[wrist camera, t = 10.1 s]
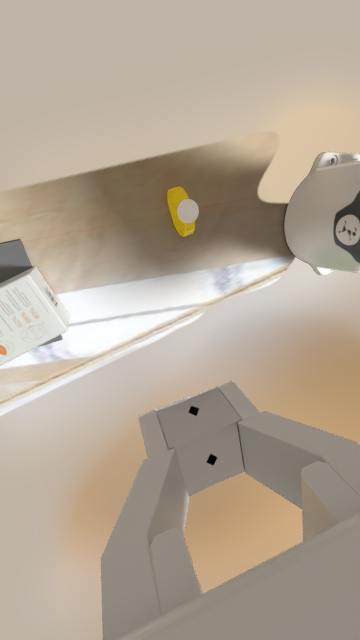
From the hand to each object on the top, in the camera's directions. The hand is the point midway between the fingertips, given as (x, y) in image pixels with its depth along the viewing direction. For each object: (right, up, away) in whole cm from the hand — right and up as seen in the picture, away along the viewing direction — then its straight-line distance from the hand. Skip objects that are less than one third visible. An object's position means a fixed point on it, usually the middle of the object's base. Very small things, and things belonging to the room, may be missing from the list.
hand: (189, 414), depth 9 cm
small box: (-16, +6, +26) cm, 31 cm away
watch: (-1, +18, +30) cm, 35 cm away
